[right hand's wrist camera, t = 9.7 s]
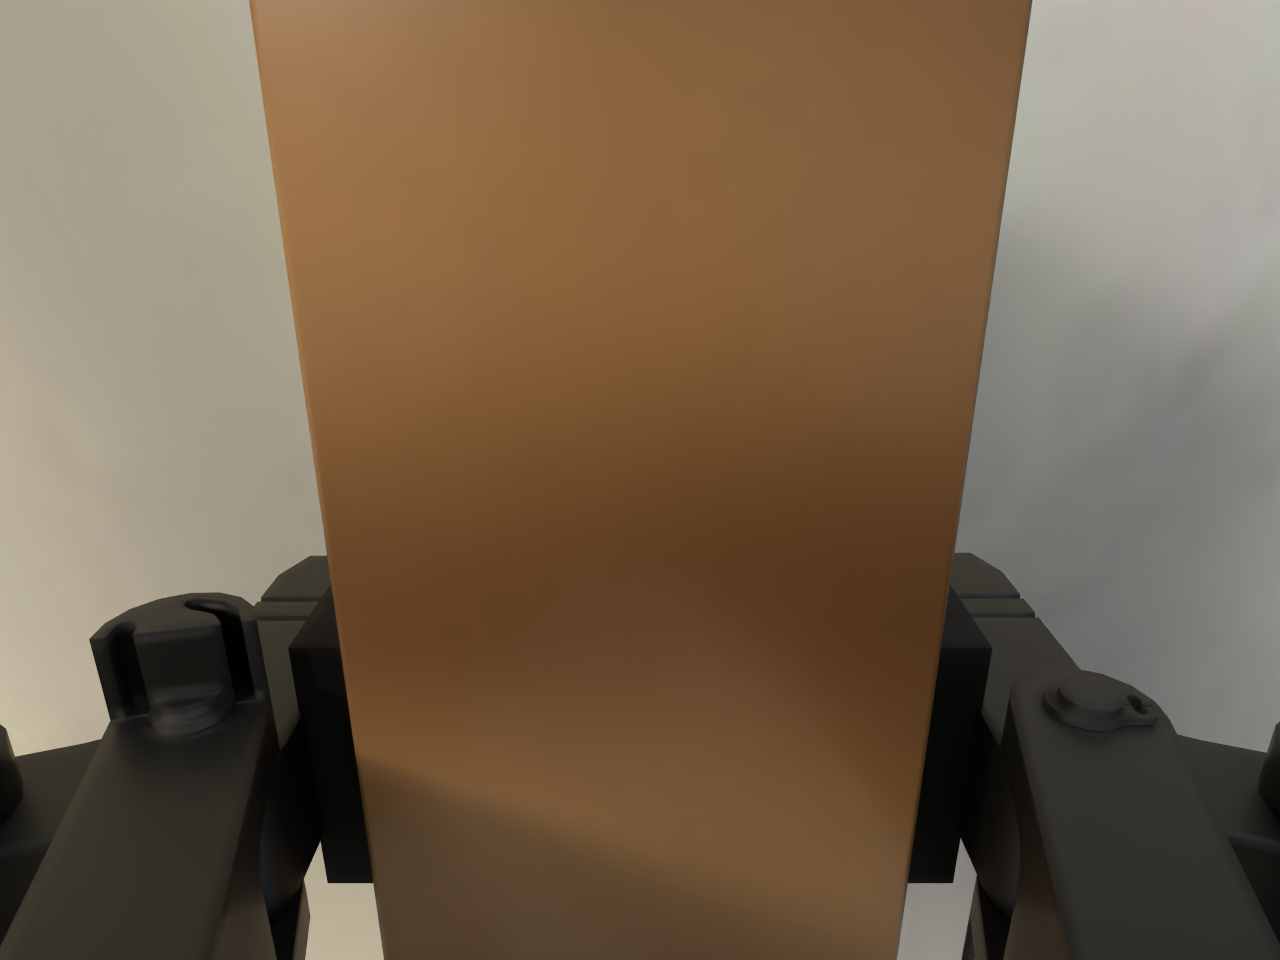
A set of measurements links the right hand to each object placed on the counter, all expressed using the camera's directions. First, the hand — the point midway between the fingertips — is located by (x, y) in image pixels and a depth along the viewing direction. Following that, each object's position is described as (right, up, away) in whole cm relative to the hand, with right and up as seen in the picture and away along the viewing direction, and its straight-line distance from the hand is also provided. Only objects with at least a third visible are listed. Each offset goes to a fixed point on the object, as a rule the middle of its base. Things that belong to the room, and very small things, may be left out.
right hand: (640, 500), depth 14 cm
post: (0, -18, +8) cm, 20 cm away
